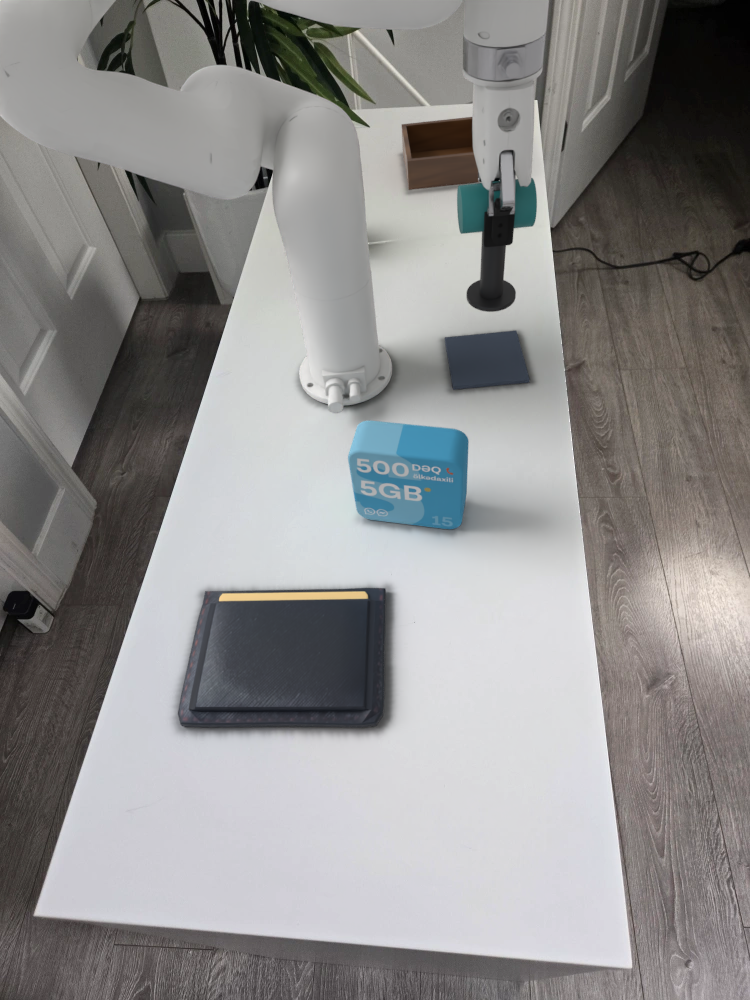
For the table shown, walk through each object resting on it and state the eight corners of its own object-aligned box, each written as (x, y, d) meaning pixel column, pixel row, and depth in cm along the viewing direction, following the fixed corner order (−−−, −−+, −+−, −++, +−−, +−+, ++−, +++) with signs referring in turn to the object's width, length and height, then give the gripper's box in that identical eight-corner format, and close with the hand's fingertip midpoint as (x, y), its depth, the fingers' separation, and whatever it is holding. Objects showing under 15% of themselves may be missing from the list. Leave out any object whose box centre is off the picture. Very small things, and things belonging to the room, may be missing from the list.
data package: (357, 519, 81) (345, 449, 72) (365, 488, 84) (355, 417, 75) (461, 531, 79) (463, 462, 70) (466, 500, 82) (469, 428, 72)
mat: (529, 382, 93) (529, 379, 92) (453, 389, 93) (453, 386, 93) (516, 333, 99) (516, 330, 98) (444, 340, 99) (444, 337, 99)
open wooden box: (486, 184, 124) (487, 152, 119) (408, 192, 124) (407, 161, 120) (475, 146, 132) (476, 116, 128) (402, 154, 132) (401, 124, 128)
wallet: (169, 719, 67) (202, 580, 76) (175, 726, 68) (207, 589, 77) (381, 726, 65) (389, 582, 74) (382, 733, 66) (390, 591, 75)
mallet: (527, 308, 86) (539, 195, 74) (461, 315, 86) (463, 203, 75) (518, 278, 90) (529, 166, 78) (455, 285, 90) (456, 174, 78)
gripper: (562, 88, 61) (541, 271, 75) (526, 15, 71) (513, 188, 86) (475, 98, 61) (470, 278, 76) (452, 24, 72) (451, 194, 86)
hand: (493, 228), depth 81 cm, fingers closed on mallet, 5 cm apart
